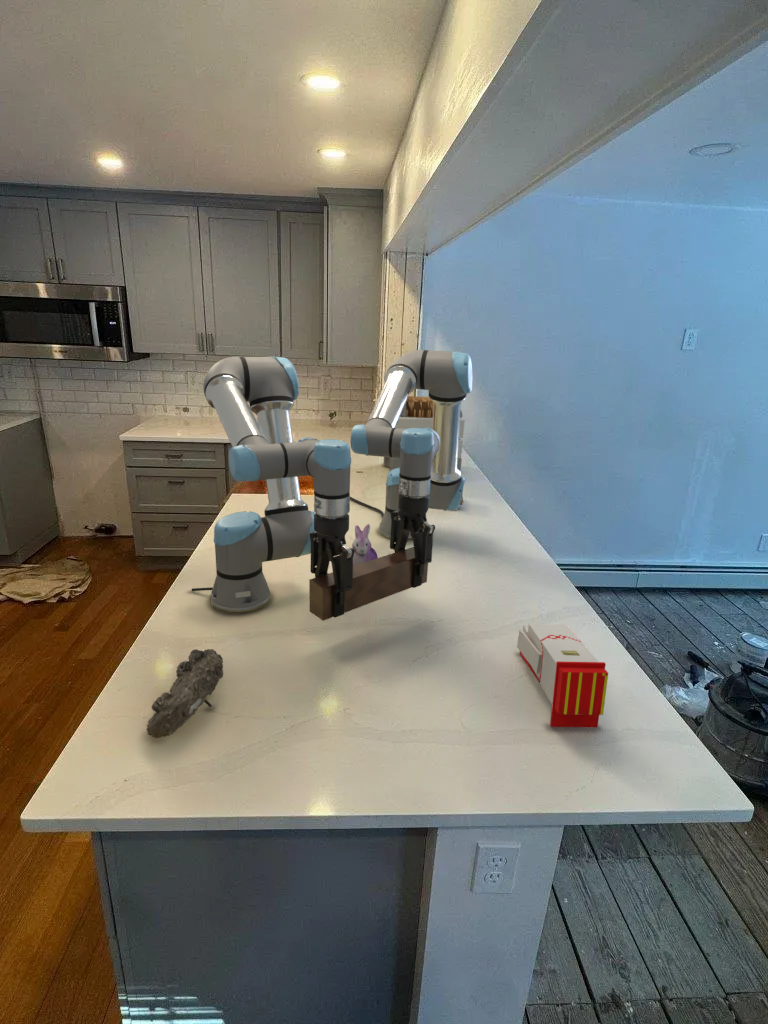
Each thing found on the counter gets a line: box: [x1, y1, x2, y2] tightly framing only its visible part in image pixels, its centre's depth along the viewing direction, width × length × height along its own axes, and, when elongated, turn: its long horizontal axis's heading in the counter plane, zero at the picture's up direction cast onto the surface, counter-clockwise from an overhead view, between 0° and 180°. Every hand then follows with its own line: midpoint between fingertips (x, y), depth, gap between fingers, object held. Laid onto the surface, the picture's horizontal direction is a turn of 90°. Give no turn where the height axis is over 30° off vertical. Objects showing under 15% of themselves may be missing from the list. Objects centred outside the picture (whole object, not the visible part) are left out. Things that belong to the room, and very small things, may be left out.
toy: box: [516, 623, 609, 728], centre depth 121 cm, size 12×13×30 cm
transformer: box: [383, 395, 465, 472], centre depth 268 cm, size 34×33×41 cm
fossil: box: [146, 648, 224, 739], centre depth 109 cm, size 22×10×15 cm
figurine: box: [351, 523, 379, 566], centre depth 167 cm, size 9×10×15 cm
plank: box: [308, 546, 429, 622], centre depth 134 cm, size 32×5×8 cm, turn 131°
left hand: (330, 609), depth 128 cm, fingers closed on plank, 5 cm apart
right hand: (408, 581), depth 143 cm, fingers closed on plank, 5 cm apart
